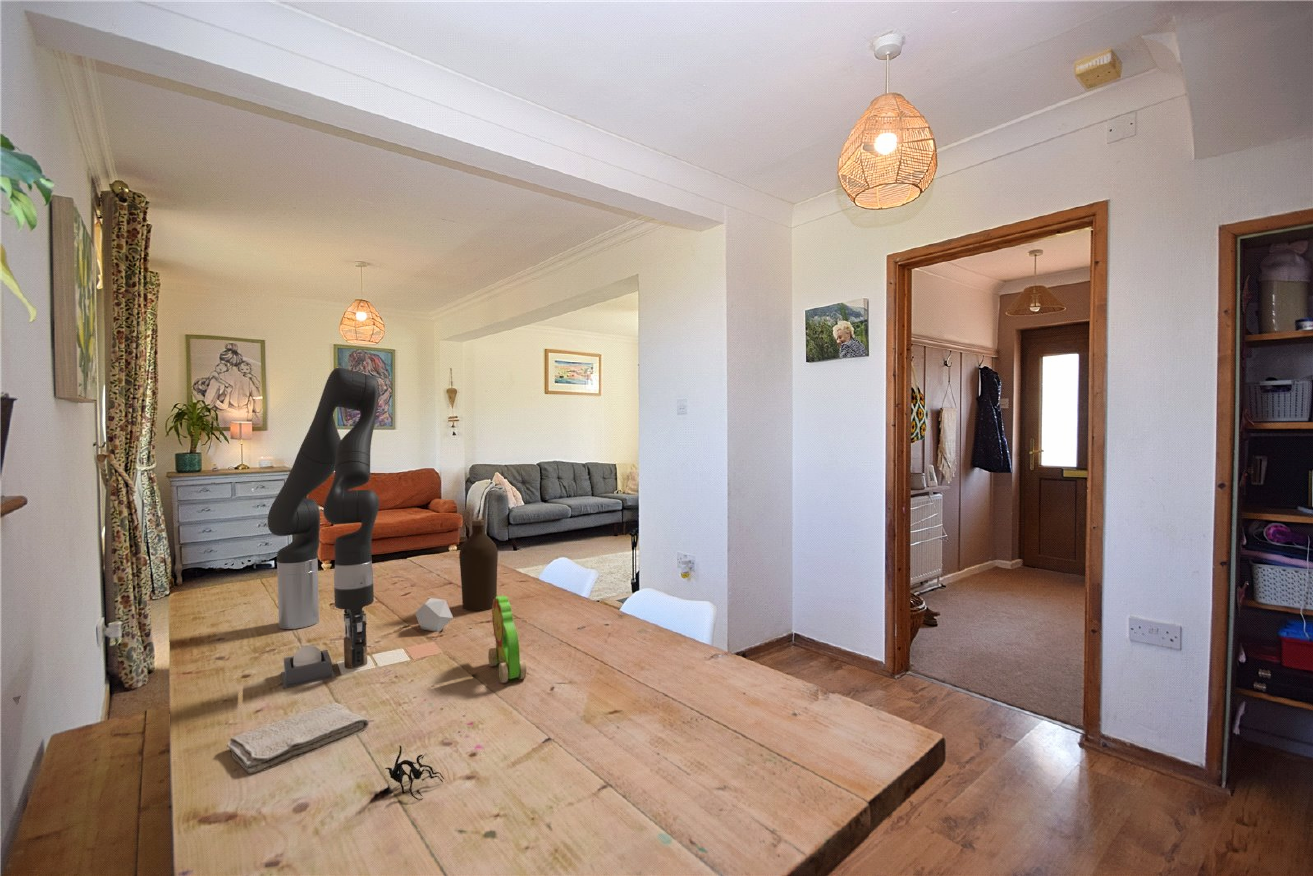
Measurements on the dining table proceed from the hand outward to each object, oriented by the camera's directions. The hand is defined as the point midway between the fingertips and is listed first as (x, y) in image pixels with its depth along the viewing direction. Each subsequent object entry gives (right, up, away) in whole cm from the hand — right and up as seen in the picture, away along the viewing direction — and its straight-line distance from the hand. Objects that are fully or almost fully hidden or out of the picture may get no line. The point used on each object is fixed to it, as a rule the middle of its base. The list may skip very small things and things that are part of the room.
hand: (356, 661), depth 129 cm
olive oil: (+14, -1, +43) cm, 46 cm away
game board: (+6, -1, +4) cm, 7 cm away
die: (+8, -1, +24) cm, 25 cm away
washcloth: (+5, -3, -29) cm, 30 cm away
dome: (-7, 0, -5) cm, 9 cm away
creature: (+30, -2, -42) cm, 52 cm away
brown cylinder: (0, -1, 0) cm, 1 cm away
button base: (-7, -2, -5) cm, 9 cm away
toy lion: (+33, -1, -2) cm, 33 cm away
